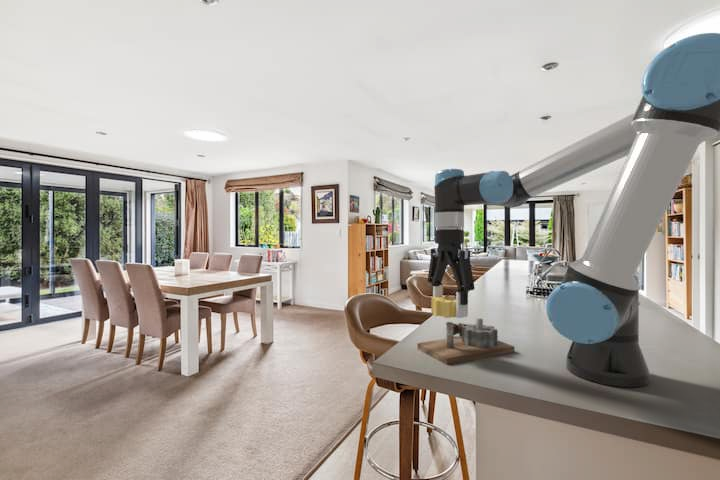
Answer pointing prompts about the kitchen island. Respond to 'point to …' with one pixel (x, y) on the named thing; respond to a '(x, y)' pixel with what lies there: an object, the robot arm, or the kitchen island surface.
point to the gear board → (466, 344)
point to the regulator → (458, 328)
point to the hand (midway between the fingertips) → (449, 313)
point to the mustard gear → (444, 306)
